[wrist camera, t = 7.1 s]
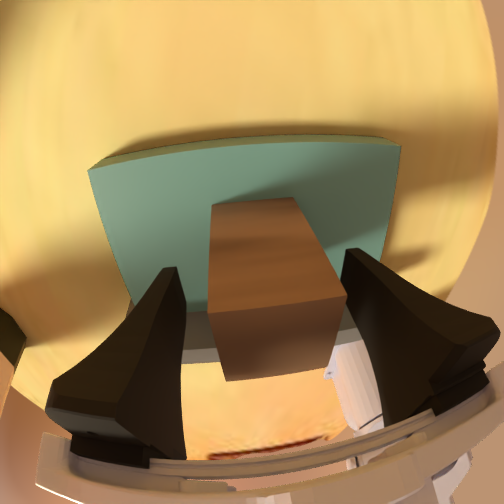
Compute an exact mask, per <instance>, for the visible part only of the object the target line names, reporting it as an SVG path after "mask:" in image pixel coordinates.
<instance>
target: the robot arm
mask: <svg viewBox="0 0 504 504" xmlns="http://www.w3.org/2000/svg"><path fill="white" fill-rule="evenodd" d="M340 282H341V284H342V285H343V287H344V289H345V291H346V293H347V299H346V303H345V304H346V306H347V308H348V310H349V312H350V314H351V316H352V318H353V320H354V322H355V324H356V327H357V329H358V331H359V333H360V335H361V337H362V339H363V340H360V341H355V342H351V343H346V344H341V345H336V346H334V348H333V351H332V355H331V358H330V361H329V364H328V367H326V369H325V372H324V375H323V378H324V379H331V378H332V379H333V382H334V385H335V388H336V392H337V395H338V398H339V401H340V404H341V408H342V411H343V414H344V418H345V420H346V422H347V424H348V425H349V426H350V427H351V428H352V429H353V430H355V432H354V433H353V434H354V437H355V438H352V439H348V440H345V441H342V442H338V443H334V444H330V445H326V446H321V447H317V448H312V449H308V450H303V451H297V452H292V453H286V454H280V455H272V456H264V457H255V458H245V459H231V460H186V459H187V456H186V449H185V441H184V433H183V422H182V408H181V363H182V354H183V346H184V338H185V330H186V314H187V302H186V298H185V295H184V291H183V288H182V284H181V280H180V277H179V273H178V269H177V266H175V267H165V268H162V269H161V271H160V272H159V274H158V275H157V276H156V278H155V279H154V281H153V282H152V284H151V285H150V286H149V288H148V289H147V291H146V292H145V294H144V295H143V296H142V298H141V299H140V300H139V302H138V303H137V305H136V306H135V307H134V308H133V310H132V311H131V312H130V313H129V315H128V316H127V317H126V319H125V320H124V321H123V322H122V323H121V324H120V325H119V327H118V328H117V329H116V330H115V331H114V332H113V333H112V334H111V335H110V336H109V337H108V338H107V339H106V340H105V341H104V342H103V343H102V344H100V345H99V346H98V347H97V348H96V349H95V350H94V351H93V352H92V353H91V354H89V355H88V356H87V357H86V358H84V359H83V360H82V361H81V362H79V363H78V364H77V365H75V366H74V367H73V368H71V369H70V370H68V371H67V372H65V373H64V374H62V375H61V376H59V377H58V378H56V379H54V380H53V382H52V385H51V388H50V392H49V395H48V399H47V403H46V407H45V412H46V414H47V415H48V417H49V418H50V419H52V420H53V421H54V422H55V423H57V424H58V425H60V426H61V427H62V428H64V429H65V430H67V431H68V432H70V433H71V434H72V440H69V439H67V438H64V437H61V436H57V435H54V434H51V433H47V432H43V434H42V439H41V445H40V450H39V456H38V464H37V472H36V481H35V484H36V485H37V486H39V487H41V488H43V489H45V490H48V491H50V492H52V493H54V494H57V495H59V496H61V497H64V498H67V499H69V500H71V501H74V502H76V503H79V504H454V500H453V497H452V493H453V492H454V490H455V489H456V488H457V486H458V485H459V484H460V482H461V481H462V479H463V478H464V477H465V475H466V474H467V472H468V471H469V469H470V467H471V465H472V463H471V460H472V458H473V457H472V453H471V449H472V448H473V447H475V446H476V445H477V444H478V443H480V442H481V441H482V440H483V439H484V438H486V437H487V436H488V435H489V434H490V433H492V432H493V431H494V430H495V429H496V428H497V427H498V426H499V425H500V424H501V423H502V422H504V361H502V362H501V363H500V364H498V365H497V366H495V367H494V368H492V369H491V370H489V371H488V372H487V373H486V374H485V372H484V370H483V369H484V368H485V367H486V364H485V362H484V361H483V359H484V358H485V357H486V356H487V354H488V353H489V352H490V351H491V349H492V348H493V347H494V345H495V344H496V343H497V341H498V339H499V337H500V330H499V328H498V327H497V325H496V324H495V323H494V321H493V320H492V319H491V318H490V317H487V316H483V315H479V314H476V313H472V312H469V311H467V310H464V309H461V308H458V307H456V306H453V305H451V304H449V303H446V302H444V301H442V300H440V299H438V298H436V297H434V296H432V295H430V294H428V293H426V292H425V291H423V290H421V289H419V288H418V287H416V286H414V285H413V284H411V283H410V282H408V281H406V280H405V279H403V278H402V277H400V276H399V275H397V274H396V273H394V272H393V271H392V270H390V269H389V268H387V267H386V266H384V265H383V264H382V263H380V262H379V261H377V260H376V259H375V258H373V257H372V256H370V255H369V254H367V253H366V252H365V251H363V250H361V249H360V248H349V249H346V250H345V256H344V261H343V267H342V272H341V277H340ZM343 460H346V464H347V471H344V472H340V473H336V474H332V475H329V476H325V477H320V478H316V479H312V480H307V481H303V482H298V483H292V484H288V485H281V486H276V487H269V488H261V489H253V490H244V491H236V488H235V487H233V486H228V484H227V483H226V482H212V481H197V480H200V479H201V480H215V479H216V480H217V479H239V478H252V477H261V476H270V475H277V474H284V473H290V472H296V471H301V470H306V469H311V468H316V467H320V466H324V465H328V464H332V463H336V462H340V461H343ZM187 479H195V480H187Z"/></svg>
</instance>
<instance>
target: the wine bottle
mask: <svg viewBox="0 0 504 504" xmlns="http://www.w3.org/2000/svg"><path fill="white" fill-rule="evenodd" d="M26 338H27V337H26V336H25V335H24V333H23V332H22V331H21V329H20V328H19V326H18V325H17V323H16V322H15V321H14V319H13V318H12V317H11V316H10V315H9V314H7V313H6V312H5V311H3V310H2V309H1V308H0V418H1V414H2V411H3V407H4V404H5V400H6V397H7V394H8V391H9V388H10V385H11V382H12V379H13V376H14V374H15V371H16V368H17V366H18V363H19V361H20V358H21V356H22V353H23V351H24V349H25V343H26Z"/></svg>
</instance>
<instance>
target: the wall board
mask: <svg viewBox="0 0 504 504" xmlns="http://www.w3.org/2000/svg"><path fill="white" fill-rule="evenodd" d="M400 151H401V146H400V145H398V144H396V143H394V142H391V141H389V140H387V139H385V138H383V137H370V136H353V135H320V134H301V135H268V136H250V137H237V138H226V139H216V140H207V141H199V142H191V143H184V144H177V145H171V146H164V147H159V148H153V149H147V150H142V151H137V152H132V153H127V154H123V155H118V156H114V157H110V158H105V159H102V160H101V161H99V162H98V163H97V164H95V165H94V166H93V167H91V168H90V169H89V170H88V175H89V179H90V182H91V186H92V190H93V193H94V197H95V200H96V204H97V207H98V210H99V214H100V217H101V220H102V223H103V226H104V229H105V232H106V235H107V238H108V241H109V244H110V246H111V249H112V252H113V255H114V257H115V260H116V262H117V265H118V268H119V270H120V273H121V275H122V278H123V280H124V282H125V285H126V287H127V289H128V292H129V294H130V296H131V301H130V304H129V308H128V311H127V314H126V317H127V316H128V315H129V313H130V312H131V311H132V310H133V308H134V307H135V306H136V305H137V303H138V302H139V300H140V299H141V298H142V296H143V295H144V294H145V292H146V291H147V289H148V288H149V286H150V285H151V284H152V282H153V281H154V279H155V278H156V276H157V275H158V274H159V272H160V271H161V269H162V268H165V267H175V266H177V269H178V273H179V277H180V280H181V284H182V288H183V291H184V295H185V298H186V302H187V314H186V330H185V338H184V346H183V354H182V363H181V364H193V363H210V362H220V359H219V355H218V351H217V348H216V344H215V340H214V337H213V333H212V329H211V325H210V321H209V317H208V313H207V309H208V269H209V244H210V223H211V206H212V205H214V204H222V203H232V202H242V201H252V200H263V199H275V198H287V197H293V198H294V200H295V201H296V203H297V205H298V206H299V208H300V210H301V211H302V213H303V215H304V216H305V218H306V220H307V222H308V223H309V225H310V227H311V229H312V230H313V232H314V234H315V236H316V237H317V239H318V241H319V243H320V245H321V246H322V248H323V250H324V252H325V254H326V255H327V257H328V259H329V261H330V263H331V265H332V266H333V268H334V270H335V272H336V274H337V276H338V278H339V280H340V277H341V272H342V267H343V261H344V256H345V250H346V249H349V248H360V249H361V250H363V251H365V252H366V253H367V254H369V255H370V256H372V257H373V258H375V259H376V260H377V261H379V262H380V258H381V254H382V250H383V246H384V242H385V237H386V233H387V228H388V224H389V219H390V214H391V209H392V204H393V198H394V193H395V187H396V181H397V174H398V167H399V159H400ZM125 319H126V318H125ZM360 340H363V339H362V337H361V335H360V333H359V331H358V329H357V327H356V324H355V322H354V320H353V318H352V316H351V314H350V312H349V310H348V308H347V306H346V304H345V307H344V311H343V315H342V319H341V323H340V327H339V330H338V334H337V338H336V341H335V345H334V346H336V345H341V344H346V343H351V342H355V341H360Z"/></svg>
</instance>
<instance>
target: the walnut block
mask: <svg viewBox="0 0 504 504" xmlns="http://www.w3.org/2000/svg"><path fill="white" fill-rule="evenodd" d="M346 299H347V293H346V291H345V289H344V287H343V285H342V284H341V282H340V280H339V278H338V276H337V274H336V272H335V270H334V268H333V266H332V265H331V263H330V261H329V259H328V257H327V255H326V254H325V252H324V250H323V248H322V246H321V245H320V243H319V241H318V239H317V237H316V236H315V234H314V232H313V230H312V229H311V227H310V225H309V223H308V222H307V220H306V218H305V216H304V215H303V213H302V211H301V210H300V208H299V206H298V205H297V203H296V201H295V200H294V198H293V197H287V198H275V199H263V200H252V201H242V202H232V203H222V204H214V205H212V206H211V223H210V244H209V269H208V309H207V313H208V317H209V321H210V325H211V329H212V333H213V337H214V340H215V344H216V348H217V351H218V355H219V359H220V362H221V366H222V369H223V373H224V376H225V380H226V381H238V380H247V379H256V378H264V377H272V376H279V375H285V374H292V373H298V372H303V371H309V370H314V369H319V368H324V367H328V364H329V361H330V358H331V355H332V351H333V348H334V345H335V341H336V338H337V334H338V330H339V327H340V323H341V319H342V315H343V311H344V307H345V303H346Z"/></svg>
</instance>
